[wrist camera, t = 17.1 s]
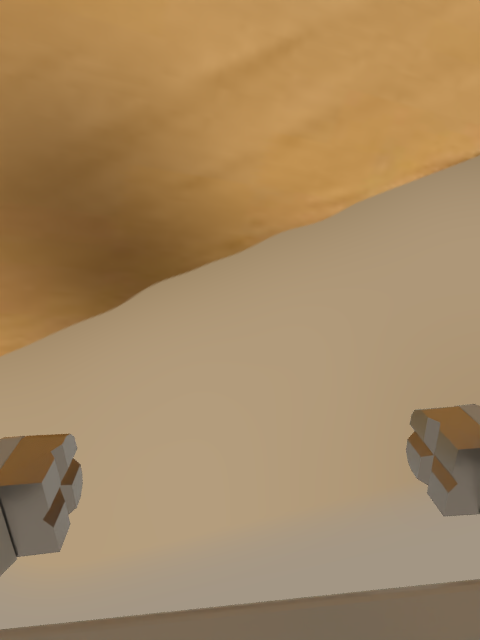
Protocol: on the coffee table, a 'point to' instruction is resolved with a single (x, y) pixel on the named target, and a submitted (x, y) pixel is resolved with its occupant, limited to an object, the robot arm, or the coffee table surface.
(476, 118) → the coffee table surface
